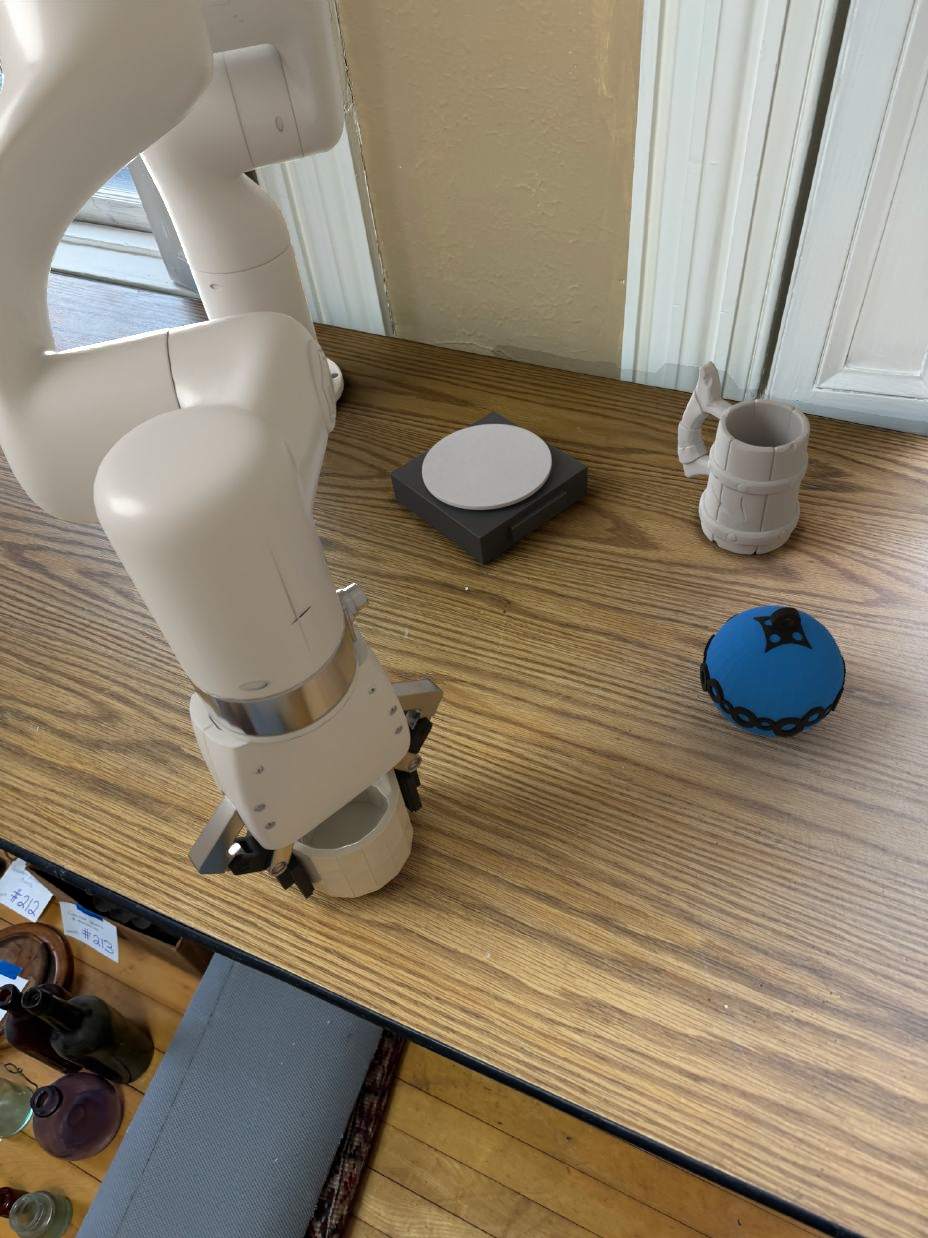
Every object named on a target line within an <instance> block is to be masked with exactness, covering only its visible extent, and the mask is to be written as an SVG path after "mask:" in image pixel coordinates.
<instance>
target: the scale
mask: <svg viewBox="0 0 928 1238" xmlns="http://www.w3.org/2000/svg"><path fill="white" fill-rule="evenodd" d="M588 467H589V466H588V465H586V464H585V463H582V462H581V461H580V460H577V459H575V458H574V457H573V456H570V455H569V454H567V453H566V452H564V451H562V450H560V449H559V448H557V447H555V446H554V445H552V444H551V443H549V442H547V441H546V440H543V439H542V438H541V437H540V436H539V435H537V434H536V433H534V432H532V431H530V430H528V429H525V428H523V427H522V426H520V425H518V424H516V423H515V422H513V421H511V420H509V419H508V418H507V417H505V416H503V415H501V414H500V413H498V412H496V411H494V410H492V411H491V412H489V413H487V414H486V415H483V416H482V417H481V418H479V419H477V420H475V421H473V423H471V424H469V425H468V426H465V427H464V428H462V429H459V430H456V431H454V432H452V433H450V434H448V435H446V436H444V437H442V438H441V439H440V440H439V441H438V442H436V443H435V444H434V445H433V446H432V447H431V448H429V449H427V450H426V451H424V452H423V453H421V454H419V455H418V456H415V457H414V458H412V459H411V460H409V461H407V462H406V463H404V464H402V465H401V466H399V467H397V468H396V469H395V470H393V471H391V472H389V475H390V480H391V484H392V489H393V493H394V499H395V500H396V501H397V502H398V503H400V504H401V505H402V506H404V507H405V508H407V509H408V510H409V511H411V512H412V513H413V514H415V515H416V516H417V517H418V518H420V519H421V520H423V521H424V522H425V523H427V524H428V525H429V526H431V527H432V528H433V529H435V530H436V531H437V532H438V533H440V534H441V535H442V536H444V537H445V538H446V539H448V540H449V541H451V542H452V543H453V544H455V545H456V546H457V547H459V548H460V549H461V550H463V551H464V552H465V553H467V554H468V555H469V556H471V558H473V559H474V560H476V561H477V562H479V563H480V564H481V565H483V566H484V565H486V564H487V563H488V562H490V561H492V560H493V559H494V558H496V557H498V556H499V555H501V554H502V553H503V552H505V551H506V550H508V549H509V548H511V547H512V546H513V545H515V544H516V543H518V542H519V541H521V540H522V539H523V538H525V537H527V536H528V535H529V534H531V533H532V532H534V531H536V530H537V529H538V528H540V527H541V526H543V525H544V524H545V523H547V522H548V521H550V520H551V519H553V518H554V517H556V516H557V515H559V514H561V513H562V512H563V511H565V510H566V509H567V508H569V507H570V506H572V505H573V504H575V503H576V502H577V501H580V500H581V499H582V498H584V497H585V496H586V495H588V493H589V492H588V491H589V489H588V488H589V485H588V483H589V482H588V479H589V477H588V474H589V473H588V471H589V470H588Z"/></svg>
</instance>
